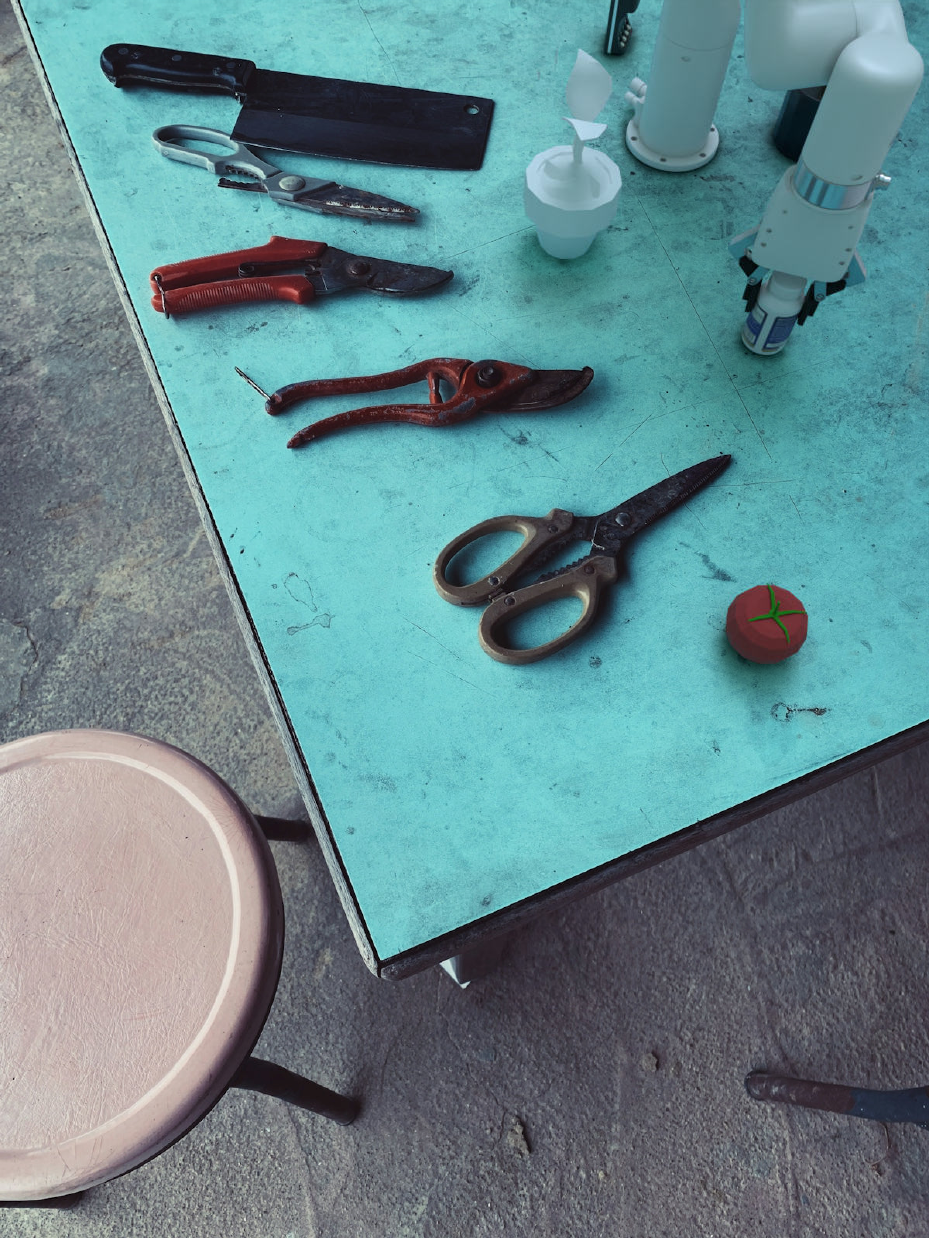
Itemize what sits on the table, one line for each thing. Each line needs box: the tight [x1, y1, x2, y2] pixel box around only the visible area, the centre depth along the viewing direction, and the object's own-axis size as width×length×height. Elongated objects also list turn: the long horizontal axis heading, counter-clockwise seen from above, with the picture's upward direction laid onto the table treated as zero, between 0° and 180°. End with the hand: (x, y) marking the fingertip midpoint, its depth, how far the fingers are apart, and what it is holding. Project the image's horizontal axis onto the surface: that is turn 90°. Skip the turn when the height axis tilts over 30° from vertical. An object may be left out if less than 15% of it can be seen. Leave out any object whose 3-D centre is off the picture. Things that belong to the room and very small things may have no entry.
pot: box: [772, 89, 819, 163], centre depth 124 cm, size 10×10×8 cm
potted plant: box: [523, 43, 623, 260], centre depth 107 cm, size 13×12×25 cm
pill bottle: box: [741, 270, 808, 356], centre depth 107 cm, size 5×5×10 cm
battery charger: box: [603, 0, 641, 55], centre depth 131 cm, size 7×4×11 cm, turn 163°
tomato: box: [724, 582, 809, 665], centre depth 91 cm, size 8×8×8 cm
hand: (775, 309), depth 107 cm, fingers closed on pill bottle, 5 cm apart
